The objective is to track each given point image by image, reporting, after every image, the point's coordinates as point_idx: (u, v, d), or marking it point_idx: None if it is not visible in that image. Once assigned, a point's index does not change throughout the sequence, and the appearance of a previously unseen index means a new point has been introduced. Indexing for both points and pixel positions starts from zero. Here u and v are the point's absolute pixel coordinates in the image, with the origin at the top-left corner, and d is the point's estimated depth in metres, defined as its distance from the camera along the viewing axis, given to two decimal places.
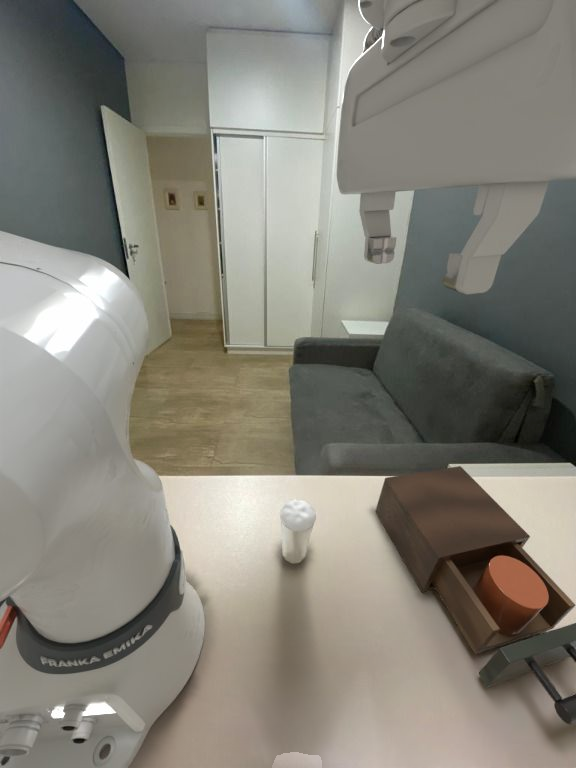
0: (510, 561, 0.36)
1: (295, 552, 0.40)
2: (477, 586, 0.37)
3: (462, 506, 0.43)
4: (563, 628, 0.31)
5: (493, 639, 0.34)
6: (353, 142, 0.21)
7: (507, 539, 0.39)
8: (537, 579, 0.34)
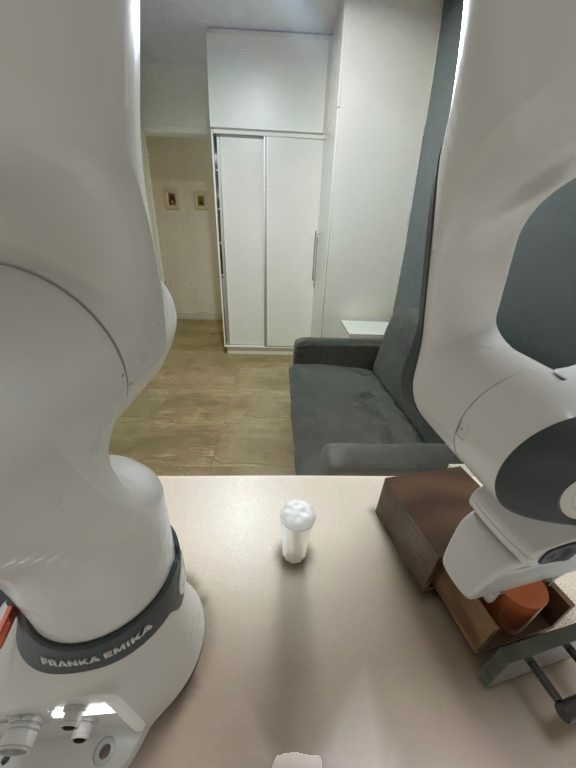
0: None
1: (295, 552, 0.40)
2: None
3: (462, 506, 0.43)
4: (563, 628, 0.31)
5: (493, 639, 0.34)
6: None
7: None
8: None
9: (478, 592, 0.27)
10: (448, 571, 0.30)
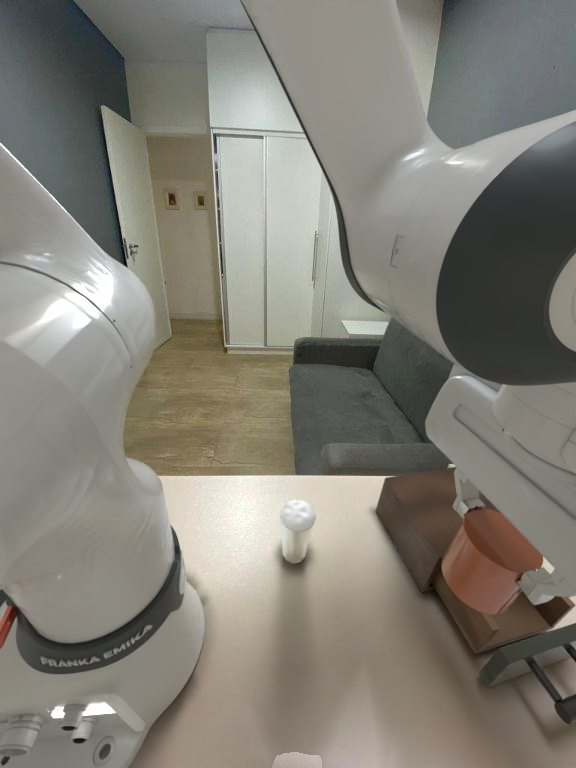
0: (473, 530, 0.25)
1: (295, 552, 0.40)
2: (487, 595, 0.24)
3: None
4: (563, 628, 0.31)
5: (493, 639, 0.34)
6: (451, 427, 0.27)
7: None
8: (483, 512, 0.27)
9: None
10: None
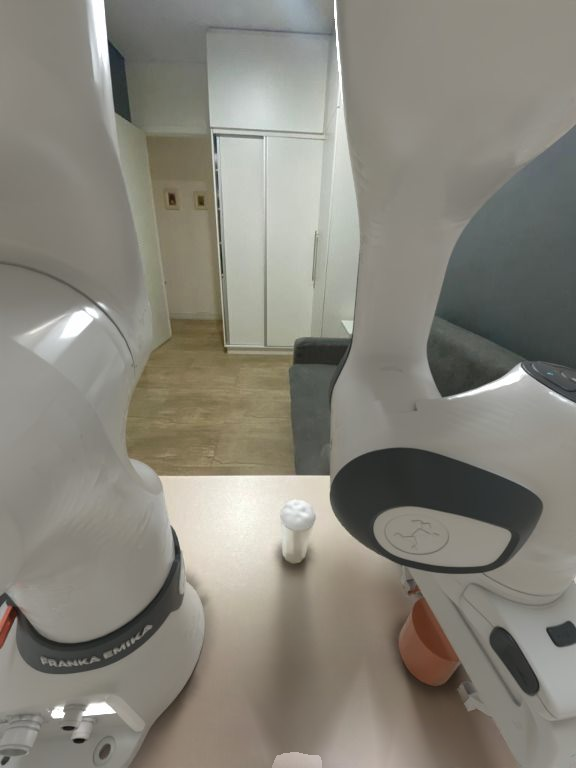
0: (418, 620, 0.32)
1: (295, 552, 0.40)
2: (428, 673, 0.31)
3: None
4: None
5: None
6: None
7: None
8: None
9: None
10: None
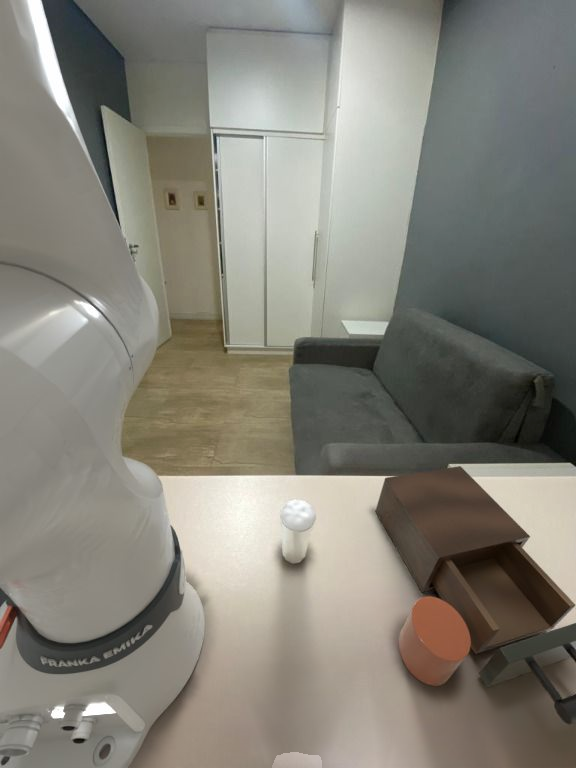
0: (418, 620, 0.32)
1: (295, 552, 0.40)
2: (428, 673, 0.31)
3: (462, 506, 0.43)
4: (563, 628, 0.31)
5: (493, 639, 0.34)
6: None
7: (507, 539, 0.39)
8: (429, 600, 0.33)
9: None
10: None
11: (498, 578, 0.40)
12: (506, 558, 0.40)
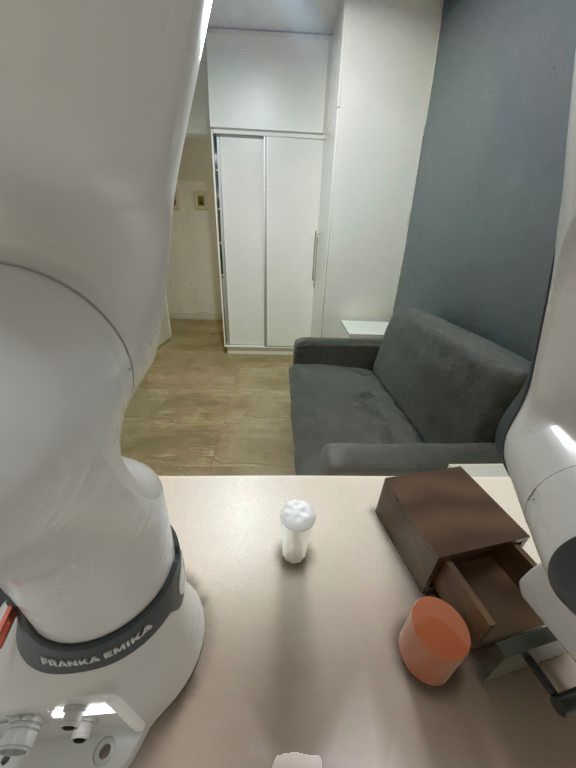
0: (418, 620, 0.32)
1: (295, 552, 0.40)
2: (428, 673, 0.31)
3: (462, 506, 0.43)
4: None
5: (490, 635, 0.34)
6: (557, 607, 0.28)
7: (507, 539, 0.39)
8: (429, 600, 0.33)
9: None
10: None
11: (496, 575, 0.40)
12: (503, 555, 0.41)
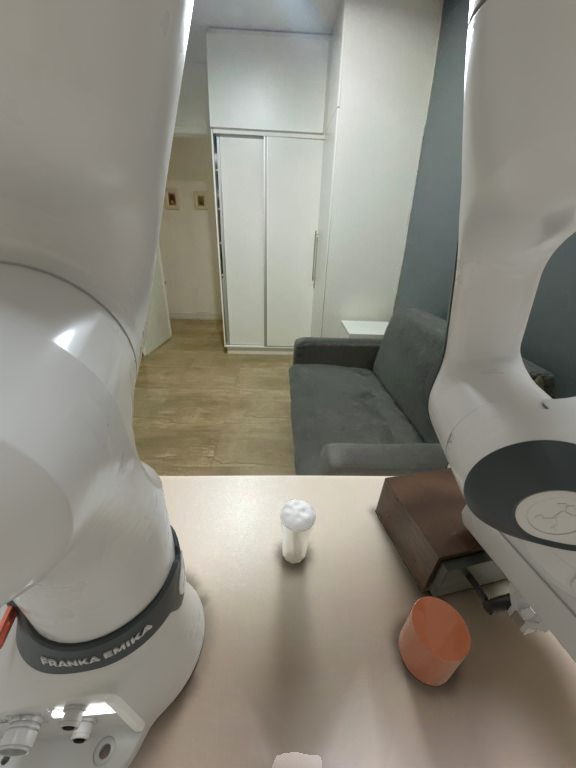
0: (418, 620, 0.32)
1: (295, 552, 0.40)
2: (428, 673, 0.31)
3: (462, 506, 0.43)
4: None
5: None
6: (485, 526, 0.35)
7: None
8: (429, 600, 0.33)
9: None
10: None
11: None
12: None
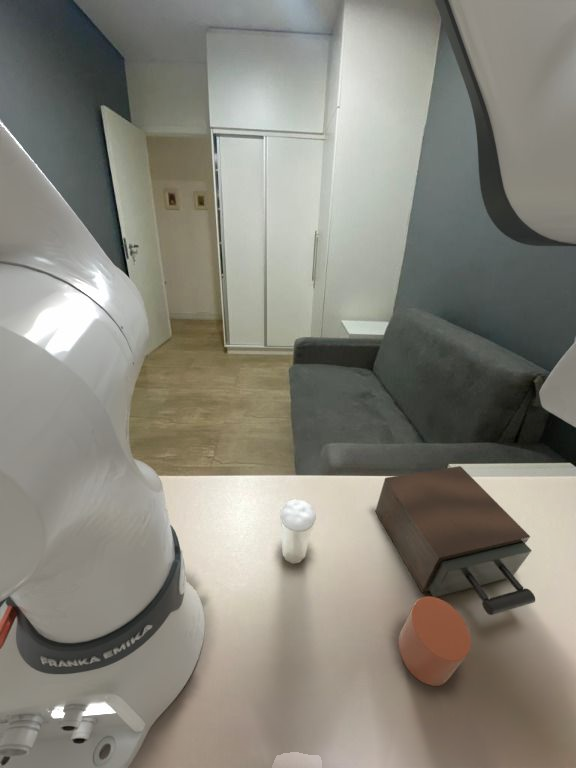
0: (418, 620, 0.32)
1: (295, 552, 0.40)
2: (428, 673, 0.31)
3: (462, 506, 0.43)
4: (495, 549, 0.38)
5: None
6: None
7: (507, 539, 0.39)
8: (429, 600, 0.33)
9: None
10: None
11: None
12: None
